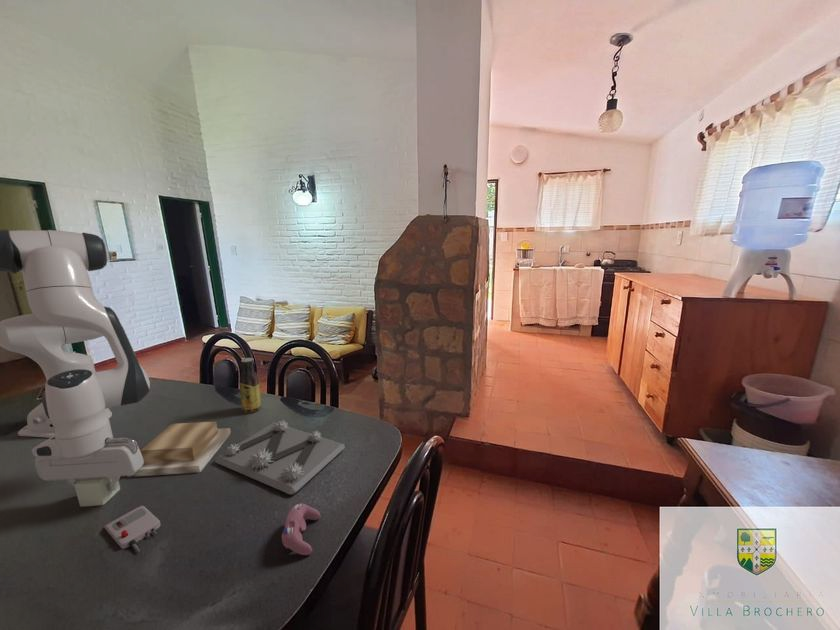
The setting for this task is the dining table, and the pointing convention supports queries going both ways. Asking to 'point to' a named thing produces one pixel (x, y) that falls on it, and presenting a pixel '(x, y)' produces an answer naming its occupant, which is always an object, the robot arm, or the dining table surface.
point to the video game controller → (298, 528)
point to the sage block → (94, 491)
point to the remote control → (133, 527)
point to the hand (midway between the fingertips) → (99, 490)
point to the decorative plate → (281, 456)
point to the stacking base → (186, 464)
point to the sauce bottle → (249, 387)
